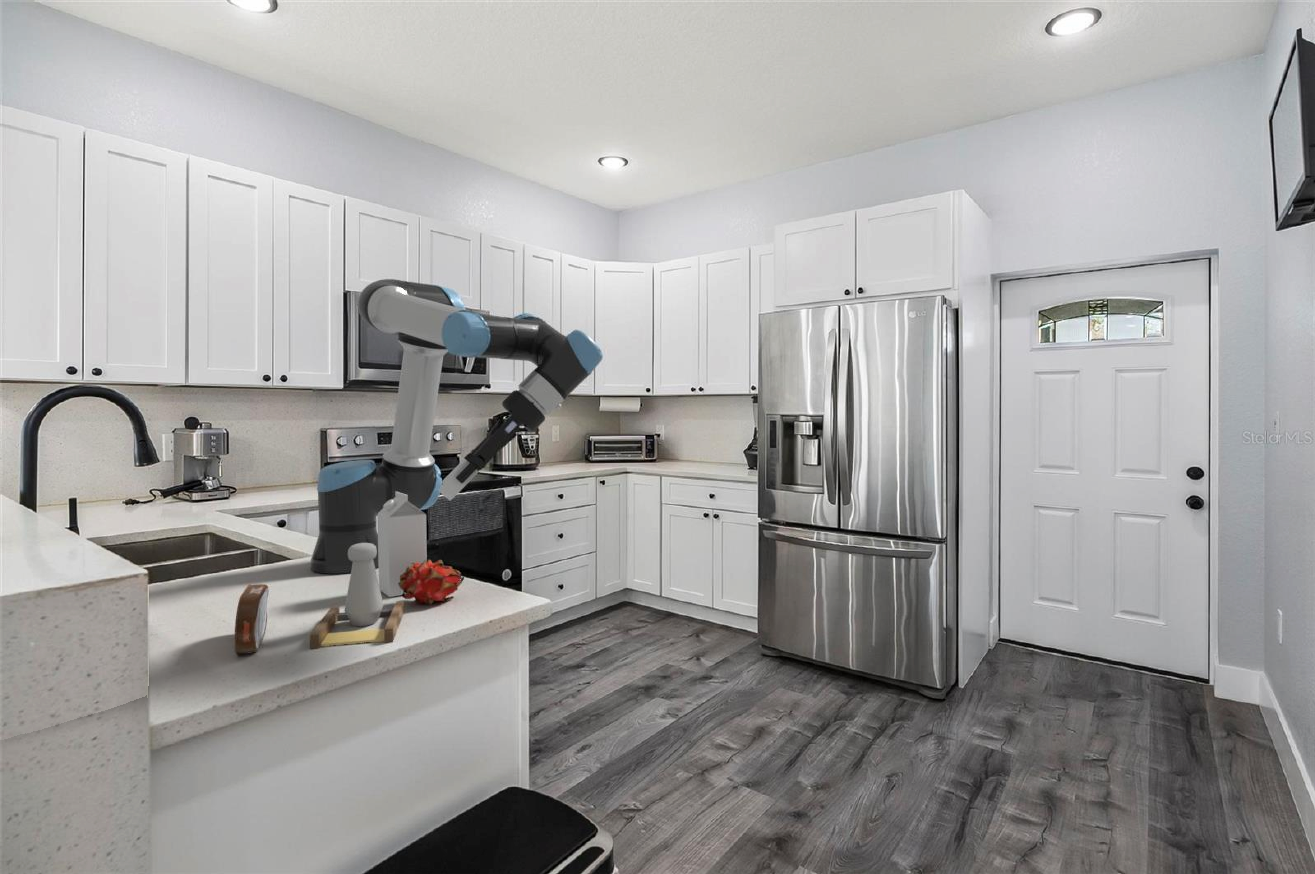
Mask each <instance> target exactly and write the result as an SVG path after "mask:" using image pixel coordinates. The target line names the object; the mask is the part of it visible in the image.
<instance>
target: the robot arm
mask: <svg viewBox="0 0 1315 874" xmlns="http://www.w3.org/2000/svg"><path fill="white" fill-rule="evenodd" d="M357 308H358V309H357V310H358V313H359V316H360V317H361V319H362V321H363V323H365V324H366V326H368V327H370V329H373V330H375V331H378V332H381V333H385V334H392V335H397V336H398V338H397V341H398V343H399V344H400V345H401V347H402V348H403V354H402V359H401V360H402V361H401V369H400V376H399V377H400V378H399V383H398V393H397V399H396V405H395V415H394V423H393V427H392V428H393V429H392V438H391V444H390V448H389V449H388V450H386V451H385V452H384V453H383V454H382V461H381V464H378V465H376V463H375V460H372V459H359V460H357V459H356V460H349V461H344V462H338V463H333V464H329V465H326V466H325V467H323V468H321V469H320V471H319V472H318V478H317V479H318V480H317V481H318V482H317V488H316V491H317V499H318V500H317V503H318V505H317V506H318V531H319V532H318V537H317V540H316V543H315V547H314V549H313V552H312V555H311V559H310V570H311V571H312V572H314V573H319V574H333V575H334V574H335V575H336V574H349V573H350V574H351V570H352V563H353V561H351V560H349V558H348V549H349V548H350V547H351V546H352V545H355V544H358V543H371V544H373V545H375V546H376V549H377V555H376V557H375V558H374V559H373V561H374V565H375V569H378V568H379V564H378V529H377V517H378V513H379V512H380V511H381V510H382V509H383V508H384V507H383V505H384V504H385V503H386V502H387V501H389V500H391V499H392V500H393V499H394V498H395V492H400V493H403V494H406V495H408V501H409V502H410V503H411V504H413V505H414V506H415V507H417V508H418V509H419V510H421V511H422V510H427V509H429V508H430V507H432V506H433V505H435V503H436V502H437V501H438V499H439V496H440V495H443V496H444V497H445V498H446V499H447V500H448V501H450V502H451V501H452V500H453V499H454V498H455V497H456V496H457V494H459V493H460V492H461V491H462V490H463V489H464V488H465V487H466V486H467V485H468V483H469V482H470V481H471V480H472V479H474V478H475V476H477V474H478V473H479V471H481V470H483V469H485V467H486V466H487V465H488V463H489V462H491V460H492V459H493V458H494V457H495V456H496V454H498V452H500V450H503V449H504V448H505V447H506V446H507V445H508V444H509V442H512V441H513V440H514V439H515V438H516V437H517V436H518V432H519V431H520V429H521V427H520V426H523V427H524V428H525V429H526V430H527V431H528V432H531V433H533V432H535V431H536V430H537V429H538V428H539V427H540V426H541V425H542V424H543V423H544V421H546V416H545V415H547V416H550V415H551V414H552V413H553V412H554V411H555V410H556V409H557V410H558V411H559V410H561V409H562V404H561V403H563V401H565V400H566V399H567V398H568V396H570V394H571V393H572V392H573V391H575V389H576V388H577V387H578V386H580V385H581V384H582V382H583V381H584V380H586V379H587V378H588V377H589V376H590V375H592V372H594V370H595V369H596V368H597V366H598V365H600V363H601V362H602V360H603V356H604V355H603V352H602V349H601V348H600V347H599V346H598V344H597V343H596V342H595V341H594V340H593V338H592V337H590V336H589V335H588V334H587V333H586V332H584V331H582V330H579V329H574V330H572V331H571V332H570V333H568V334H567V335H564V334H563V333H561V332H559V331H558V330H556V328H554V327H553V326H551V325H550V324H548V323H547V322H546V321H545V320H543V319H542V318H541V317H539V316H536V315H534V314H531V313H529V312H524V313H521V314H518V315H515V316H514V317H506V316H498V315H492V314H485V313H481V312H477V311H472V310H469V309H466V306H465V304H464V301H463V299H462V297H461V296H460V295H459V294H458V293H457V291H455V290H454V289H452V288H448V287H444V286H440V285H438V284H437V285H436V284H428V283H421V282H413V281H405V280H400V279H393V278H388V279H387V278H385V279H379V280H376V281H373V282H371V283H369V284H368V285H367V286H365V288H363V289H362V291H361V292H360V294H359V296H358V301H357ZM447 353H449V354H451V355H454V356H458V357H459V356H460V357H463V358H468V359H471V358H473V359H474V358H480V359H497V360H498V359H501V360H510V361H511V360H512V361H524V362H526V361H527V362H531V363H532V364H534V365H535V366H536V367H535V368H534V369H533V370H532V371H531V372H530V373H529V374H528V375H527V376H526V377H525V378H524V379H523V380H522V381H521V382H520V383H519V384H518V385H517V386H518V390H517V389H516V390H513V391H512V392H510V394H509V395H507V397H505V399H504V400H503V401H502V403H501V405H502V407H503V408H504V409H505V411H507V412H508V414H510V415H509V416H508V417H507V418H506V417H505V418H502V419H501V418H500V419H498V420H497V421H496V422H495V423H494V424H493V427H492V428H491V429H490V430H489V431H488V432H487V433H486V437H485V438H484V439H483V440H482V441H481V442H480V443H478V445H477V446H476V447H475V448H474V449H473V448H472V449H471V450H470V452H469V453H467V454H466V455H465V456H464V457H463V459H462V460H461V461H460V462H459V463H458V465H457V466H455V467H454V468H453V470H452V471H451V472H450V473H448V475H447V476H445V478H444V479H442V477H441V475H442V472H441V469H440V468H439V466H438V465H437V464H436V463H435V461H436V460H435V458H434V457H433V455H431V453H430V450H431V443H432V435H433V430H434V429H433V428H434V423H435V415H436V408H437V401H438V397H439V395H438V394H439V388H440V382H441V381H440V380H441V374H442V369H443V368H442V367H443V360H444V356H445V355H446V354H447Z"/></svg>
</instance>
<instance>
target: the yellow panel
mask: <svg viewBox="0 0 1315 874" xmlns="http://www.w3.org/2000/svg"><path fill="white" fill-rule="evenodd" d="M384 629H385V628H375V629H366V630H364V629H363V630H355V631H354V630H352V631H339V632H338V631H337V632H330V633H328V634H327V635H326V637H325V638H324V640H323V641H322V643H321V646H324V647H333V645H336V646H345V645H344V644H348V645H357V643H360V644H367V643H366V642H371V643H381V642H385V640H384ZM364 642H365V643H364ZM342 644H343V645H342ZM330 645H331V646H330ZM321 646H320V647H321Z"/></svg>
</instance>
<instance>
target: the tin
mask: <svg viewBox="0 0 1315 874" xmlns="http://www.w3.org/2000/svg"><path fill="white" fill-rule="evenodd" d="M268 597H269V586H268V585H267V584H263V583H260V584H250V583H248V585H247V586H246V588H245V589H244V591H243V592H242V593H241V595H240V597H239V600H238V603H237V608H236V616H235V624H234V635H233V636H234V653H235V654H236V655H240V654H251V653H256V652H258V650H259V648H260V646H261V644H262V643H263V640H264V637H265V633H266V629H267V624H268V612H267V611H268V610H267V607H268V606H267V605H268Z"/></svg>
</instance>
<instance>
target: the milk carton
mask: <svg viewBox="0 0 1315 874" xmlns="http://www.w3.org/2000/svg"><path fill="white" fill-rule="evenodd" d="M383 507H384V508H383V509H382V510H381V511H380V512H379V513H378V516H377V533H378V564H379V567H378V583H379V588H380V592H381V593H384V595H386V596H387V597H389V598H392V597H399V596H402V594H403V592H404V591H403V590H402V589H401V588H400V587H399V584H398V583H399V582H400V575H402V574H403V573H404V572H406V569H407V567H410V566H412V567H413V566H414V564H412V563H414V562H417V563H419V564H422V563H423V561H425V560H426V561H428V559H427V557H428V555H427V514H426V513H425V512H424V511H422V510H419V509H418V508H417V507H415V506H414V505H413V504H411V503H410V502H409V501H408V495H406V494H403V493H400V492H395V498H394V499H393V500H392V499H391V500H389V501H387V502H386V503H385V504H384V505H383ZM404 593H405V592H404ZM405 595H406V593H405Z"/></svg>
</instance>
